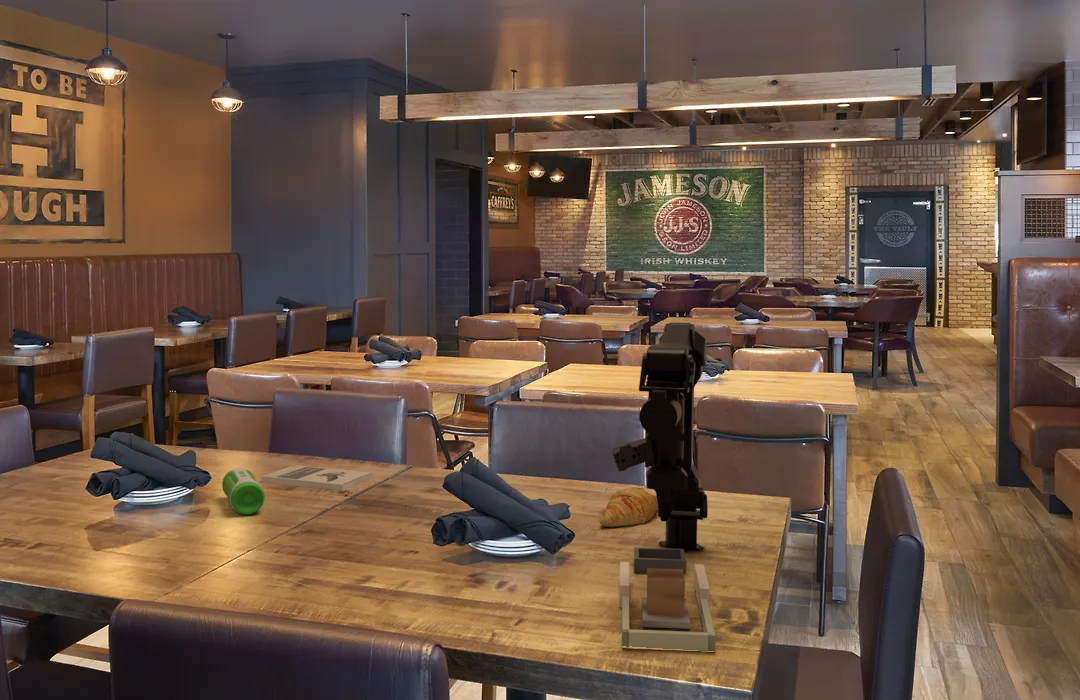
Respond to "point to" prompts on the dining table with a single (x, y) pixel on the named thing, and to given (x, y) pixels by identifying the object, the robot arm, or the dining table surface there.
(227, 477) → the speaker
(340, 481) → the book
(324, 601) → the dining table surface
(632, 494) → the croissant
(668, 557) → the tray
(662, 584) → the brown block on plate
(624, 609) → the bay
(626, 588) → the channel
